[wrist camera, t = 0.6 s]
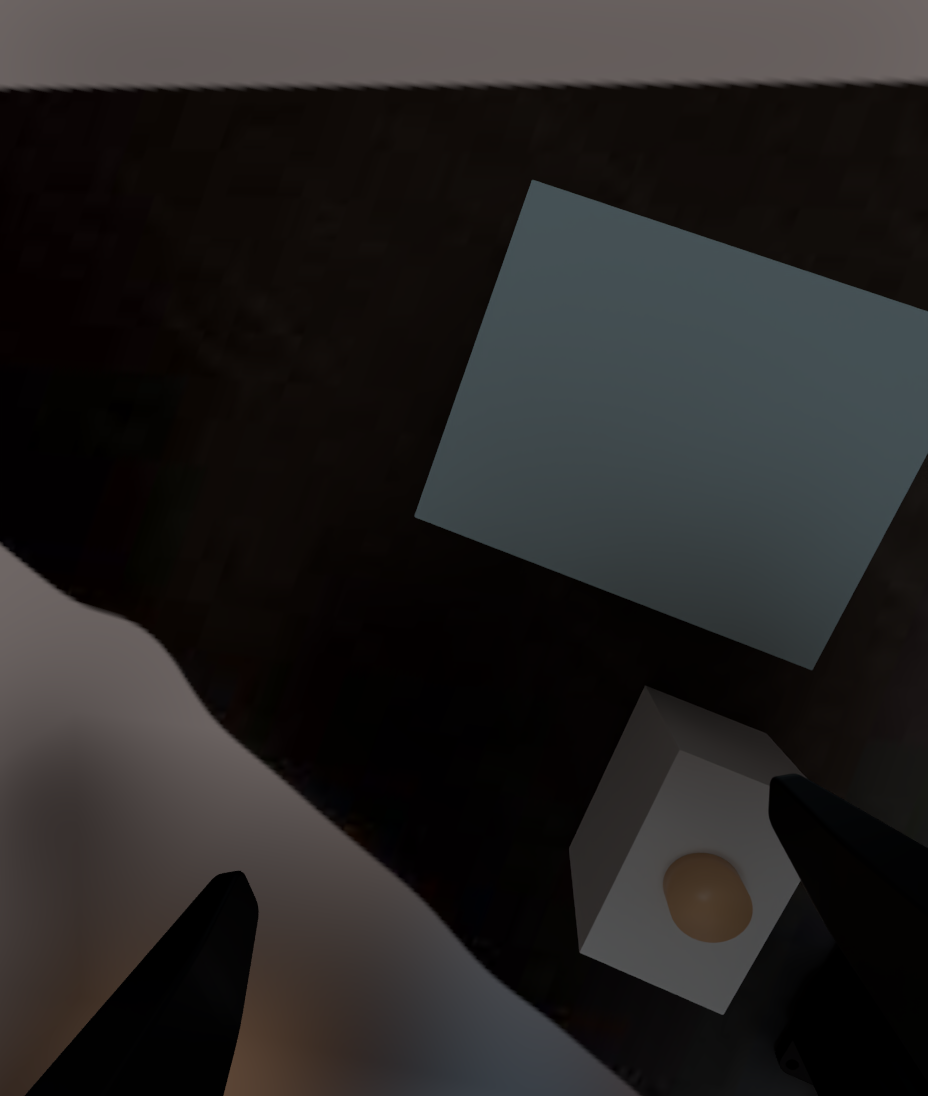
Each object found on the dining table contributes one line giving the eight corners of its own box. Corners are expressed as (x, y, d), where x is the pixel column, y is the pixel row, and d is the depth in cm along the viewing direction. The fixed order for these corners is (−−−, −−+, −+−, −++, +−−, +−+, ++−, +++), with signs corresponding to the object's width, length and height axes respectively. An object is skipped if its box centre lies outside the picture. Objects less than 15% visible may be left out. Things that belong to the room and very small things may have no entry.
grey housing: (764, 731, 20) (855, 832, 15) (679, 893, 22) (732, 1041, 16) (644, 683, 21) (687, 764, 15) (568, 846, 22) (582, 975, 17)
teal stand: (914, 356, 18) (991, 333, 15) (770, 640, 20) (812, 670, 17) (531, 225, 19) (532, 179, 16) (430, 510, 21) (414, 516, 18)
